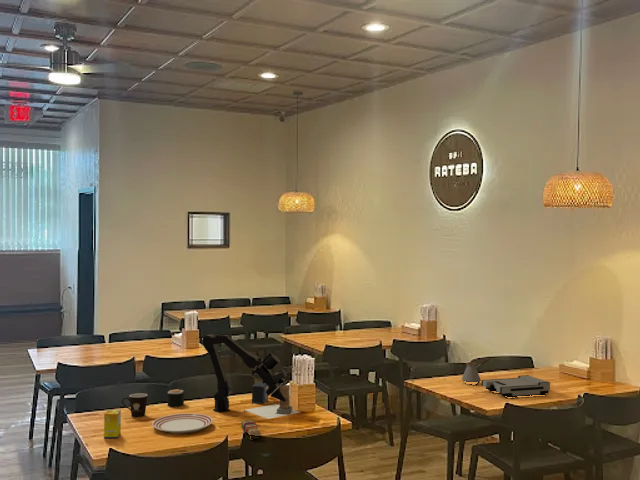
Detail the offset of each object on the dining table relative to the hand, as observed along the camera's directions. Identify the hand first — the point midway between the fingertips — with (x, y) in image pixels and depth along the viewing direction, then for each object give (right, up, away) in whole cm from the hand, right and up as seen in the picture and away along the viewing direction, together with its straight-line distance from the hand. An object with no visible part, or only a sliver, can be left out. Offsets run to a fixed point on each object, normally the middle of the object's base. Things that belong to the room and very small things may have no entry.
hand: (287, 398), depth 322 cm
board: (-8, -8, +1) cm, 11 cm away
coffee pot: (+115, -10, +78) cm, 139 cm away
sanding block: (-1, -7, 0) cm, 7 cm away
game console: (+130, -10, +51) cm, 140 cm away
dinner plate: (-47, -8, -25) cm, 54 cm away
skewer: (-15, -8, -33) cm, 37 cm away
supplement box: (-75, -7, -40) cm, 85 cm away
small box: (-15, -8, +22) cm, 28 cm away
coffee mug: (-74, -7, -5) cm, 75 cm away
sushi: (-60, -7, +16) cm, 62 cm away
